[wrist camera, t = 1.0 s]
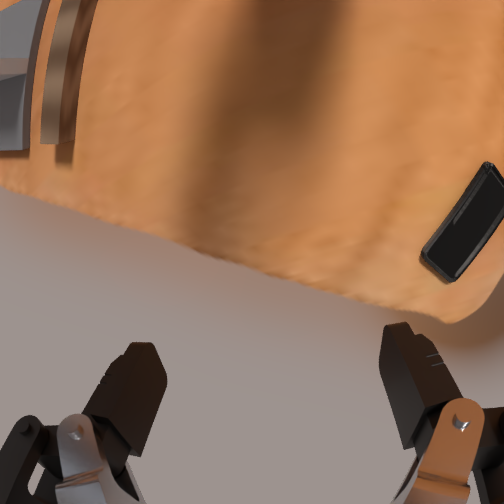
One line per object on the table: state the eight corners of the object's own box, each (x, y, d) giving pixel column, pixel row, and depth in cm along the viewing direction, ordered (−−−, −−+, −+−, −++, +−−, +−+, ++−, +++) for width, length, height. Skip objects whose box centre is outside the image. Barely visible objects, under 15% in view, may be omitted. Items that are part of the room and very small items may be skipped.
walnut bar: (85, -13, 18) (69, -20, 15) (105, -18, 18) (89, -26, 15) (58, 138, 27) (40, 143, 24) (76, 139, 27) (58, 144, 24)
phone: (516, 198, 25) (452, 285, 31) (511, 195, 26) (449, 280, 32) (489, 158, 23) (419, 256, 30) (484, 156, 24) (416, 251, 31)
